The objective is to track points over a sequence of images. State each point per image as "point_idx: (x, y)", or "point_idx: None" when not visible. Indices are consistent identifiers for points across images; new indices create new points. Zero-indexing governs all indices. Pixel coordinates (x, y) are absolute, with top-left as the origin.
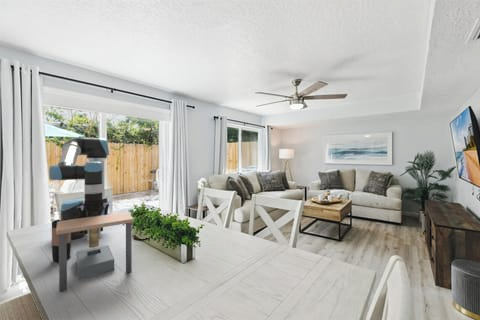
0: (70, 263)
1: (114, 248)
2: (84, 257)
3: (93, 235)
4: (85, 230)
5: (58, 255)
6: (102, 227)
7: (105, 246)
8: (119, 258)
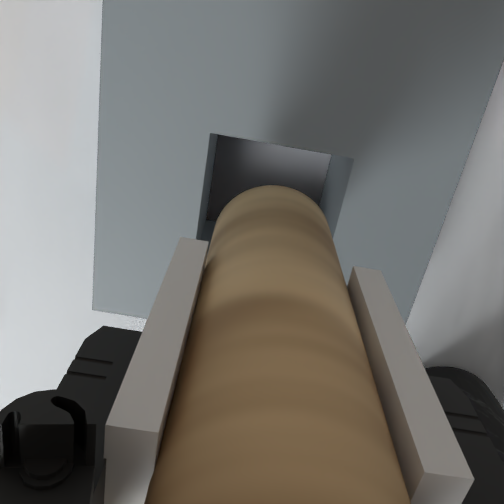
0: (418, 296)
1: (51, 340)
2: (397, 136)
3: (306, 278)
4: (478, 446)
5: (498, 415)
6: (68, 391)
7: (126, 290)
8: (47, 74)
